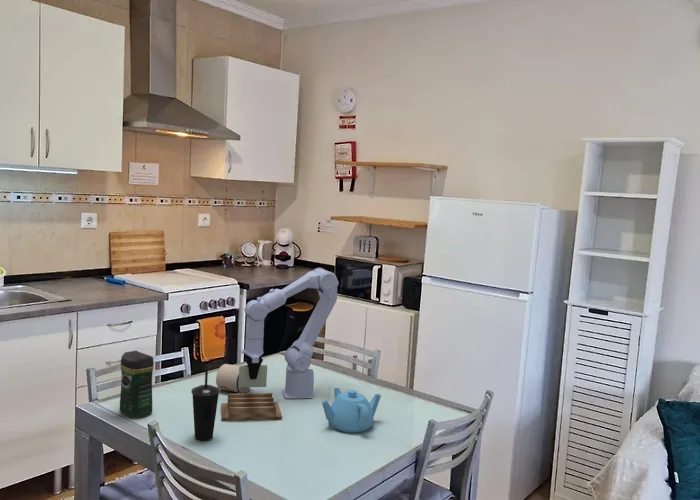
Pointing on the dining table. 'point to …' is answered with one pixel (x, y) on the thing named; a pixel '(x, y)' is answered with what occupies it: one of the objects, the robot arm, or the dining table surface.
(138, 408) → the coffee jar
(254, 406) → the walnut rack
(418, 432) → the dining table surface
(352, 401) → the teapot
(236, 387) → the beige mug
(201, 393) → the drinking cup
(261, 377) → the upright gray panel
